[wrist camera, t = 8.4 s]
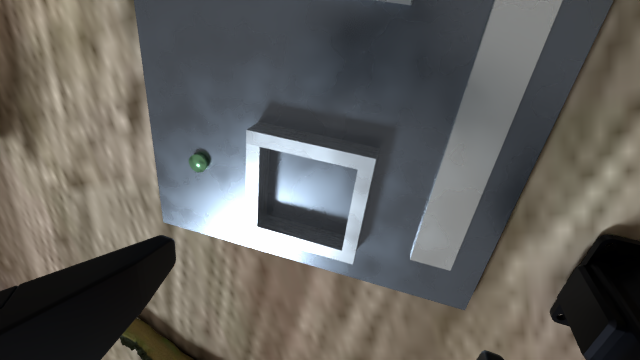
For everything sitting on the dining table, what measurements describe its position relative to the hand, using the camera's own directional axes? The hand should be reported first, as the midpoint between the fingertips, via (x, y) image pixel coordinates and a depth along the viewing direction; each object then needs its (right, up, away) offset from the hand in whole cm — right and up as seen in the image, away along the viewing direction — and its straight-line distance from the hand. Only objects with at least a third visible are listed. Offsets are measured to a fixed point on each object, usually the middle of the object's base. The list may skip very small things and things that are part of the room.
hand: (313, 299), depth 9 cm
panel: (+1, +8, +9) cm, 12 cm away
